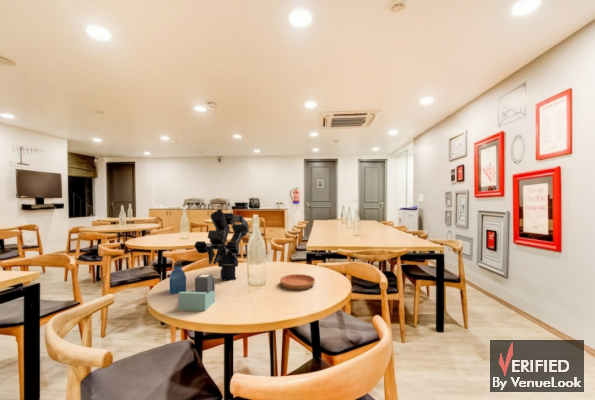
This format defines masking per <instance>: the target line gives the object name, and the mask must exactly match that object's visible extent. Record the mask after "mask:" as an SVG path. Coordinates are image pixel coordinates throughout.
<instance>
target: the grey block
mask: <svg viewBox="0 0 595 400" xmlns="http://www.w3.org/2000/svg"><path fill="white" fill-rule="evenodd" d="M215 279H216V278H215V277H214V274H209V273H208V274H207V273H206V274H205V273H204V274H203V273H202V274H198V275H197V276H196V277H194V292H207V294H208V293H209V292H210V291H215V292H216V289H215V288H216V286H215V285H216V284H215V281H216V280H215Z"/></svg>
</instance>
